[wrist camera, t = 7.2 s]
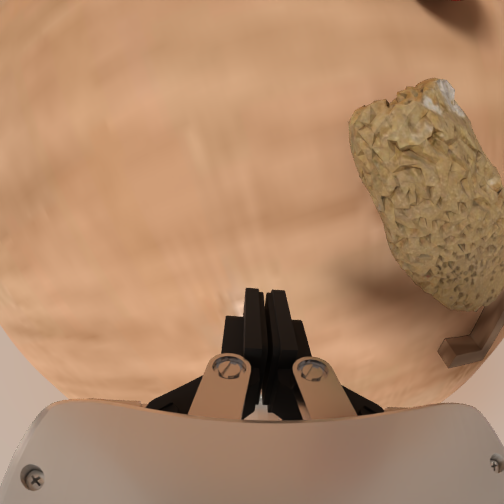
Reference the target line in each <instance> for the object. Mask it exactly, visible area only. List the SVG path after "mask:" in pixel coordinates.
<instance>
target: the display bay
mask: <svg viewBox="0 0 504 504" xmlns="http://www.w3.org/2000/svg"><path fill="white" fill-rule="evenodd" d="M503 325H504V289H503V290H502V291H501V293H500V294H499V295H498V297H497V299H496V300H495V301H493V302H492V303H490V304H489V305H488V306H485V307H484V309H483V312H482V314H481V316H480V317H479V319H478V321H477V323H476V325H475V327H474V329H473V331H472V333H471V334H470V335H469V336H462V337H455V338H448V339H444V341H443V343H442V345H441V346H440V348H439V350H438V353H439V355H440V356H441V358H442V359H443V361H444V362H445V364H446V366H447V367H448V368H452V367H457V366H461V365H465V364H469V363H473V362H477V361H481V360H483V358H484V357H485V355H486V354H487V352H488V350H489V349H490V347H491V346H492V344H493V342H494V341H495V339H496V337H497V335H498V334H499V332H500V330H501V328H502V327H503Z"/></svg>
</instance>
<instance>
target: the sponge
mask: <svg viewBox="0 0 504 504" xmlns="http://www.w3.org/2000/svg"><path fill="white" fill-rule="evenodd" d="M454 94H455V90H454V88H453V87H452V86H451V85H450V83H449V82H448V81H447V80H444V79H442V80H441V79H437V78H432V79H426V80H424V81H422V82H420V83H418V84H417V85H416V87H406V89H405V90H403V91H400V92H397V98H395V99H394V100H393V101H392V102H391V103H390V104H389V103H388V101H387V100H386V99H384V100H378V101H374V102H373V103H371V104H369V105H367V106H365V105H364V106H362V107H360V108H359V109H357V110H355V111H354V113H353V115H352V117H351V119H350V121H349V142H350V147H351V152H352V155H353V158H354V161H355V164H356V167H357V169H358V172H359V176H360V178H361V180H362V182H363V184H364V185H365V187H366V188H367V190H368V191H369V193H370V195H371V197H372V199H373V202H374V204H375V206H376V208H377V210H378V212H379V214H380V216H381V219H382V221H383V223H384V229H385V233H386V238H387V241H388V244H389V247H390V250H391V252H392V254H393V256H394V258H395V260H396V261H397V262H398V263H399V264H400V266H401V268H402V269H403V270H405V271H406V273H407V274H408V276H409V277H411V278H412V280H413V281H414V283H415V284H416V285H418V286H420V287H421V288H422V289H423V290H424V291H425V293H428V294H431V295H432V296H433V297H434V299H436V300H438V301H439V302H440V303H441V304H442V305H444V306H445V307H446V308H449V309H450V310H456V311H469V312H470V311H471V310H473V311H475V312H476V311H477V310H478V309H479V308H480V307H481V306H482V305H483V306H488V305H489V304H490V303H492V302H493V301H495V300H496V299H497V297H498V295H499V294H500V293H501V291H502V290H503V289H504V187H503V186H502V182H501V177H500V175H499V173H498V171H497V169H496V167H495V166H493V165H492V164H491V162H490V161H489V159H488V158H487V157H486V155H485V154H484V152H483V150H482V148H481V146H480V144H479V142H478V140H477V139H476V136H475V134H474V132H473V129H472V126H471V122H470V120H469V119H468V117H467V116H466V114H465V113H464V111H463V110H462V109H461V108H460V107H459V105H458V104H457V103H456V101H455V100H454Z"/></svg>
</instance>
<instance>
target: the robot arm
mask: <svg viewBox="0 0 504 504" xmlns="http://www.w3.org/2000/svg"><path fill="white" fill-rule="evenodd" d="M0 504H504V447H503V445H502V443H501V441H500V440H499V438H498V436H497V434H496V433H495V431H494V430H493V428H492V427H491V425H490V424H489V422H488V421H487V419H486V418H485V417H484V416H483V415H482V413H481V412H480V411H479V410H477V409H476V408H474V407H473V406H469V405H465V404H459V403H438V404H430V405H425V406H419V407H413V408H398V407H387V408H386V409H385V410H383V409H382V407H380V406H379V405H377V404H375V403H374V402H372V401H370V400H368V399H366V398H364V397H362V396H360V395H358V394H357V393H355V392H353V391H351V390H349V389H347V388H346V387H344V386H342V385H341V384H340V382H339V380H338V378H337V376H336V374H335V373H334V371H333V369H332V367H331V366H330V365H329V364H328V363H327V362H326V361H324V360H322V359H320V358H316V357H312V356H311V352H310V348H309V345H308V341H307V337H306V334H305V330H304V326H303V323H302V321H301V320H291V315H290V311H289V307H288V302H287V298H286V294H285V291H284V290H272V291H271V293H267V294H266V301H265V306H264V295H263V292H259V289H255V288H246V291H245V302H244V313H243V317H237V316H226V319H225V327H224V335H223V343H222V351H221V354H219V355H216V356H214V357H213V358H212V359H211V360H210V361H209V363H208V365H207V367H206V370H205V372H204V375H203V376H201V377H199V378H197V379H195V380H193V381H191V382H189V383H187V384H185V385H183V386H181V387H179V388H177V389H175V390H173V391H171V392H168V393H166V394H164V395H162V396H160V397H158V398H156V399H154V400H152V401H151V402H149V404H141V401H124V400H106V399H93V398H91V399H69V400H62V401H57V402H55V403H52V404H50V405H49V406H47V407H46V408H45V409H43V410H42V411H41V412H40V413H39V414H38V416H37V417H36V418H35V420H34V421H33V422H32V424H31V425H30V427H29V428H28V430H27V431H26V433H25V434H24V436H23V438H22V440H21V442H20V444H19V445H18V447H17V449H16V451H15V453H14V455H13V457H12V459H11V462H10V464H9V466H8V469H7V471H6V473H5V476H4V479H3V481H2V484H1V486H0Z"/></svg>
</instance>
